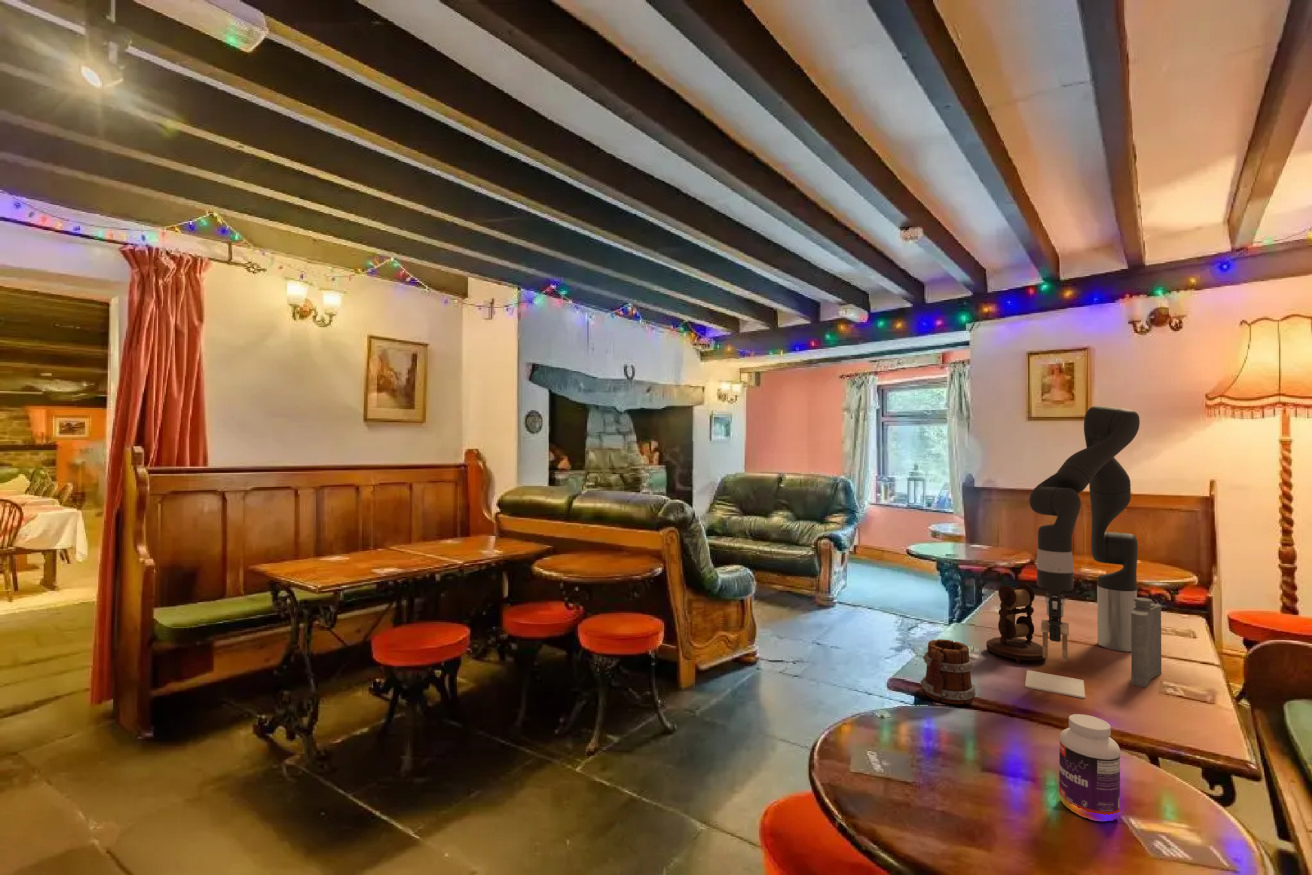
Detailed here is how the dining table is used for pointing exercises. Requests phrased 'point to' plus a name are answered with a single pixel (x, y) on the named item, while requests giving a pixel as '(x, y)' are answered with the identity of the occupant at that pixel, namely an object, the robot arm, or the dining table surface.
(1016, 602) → the scroll
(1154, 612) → the hip flask
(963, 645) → the mug
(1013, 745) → the dining table surface
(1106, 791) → the pill bottle
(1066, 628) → the stool
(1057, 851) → the dining table surface
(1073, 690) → the mat
